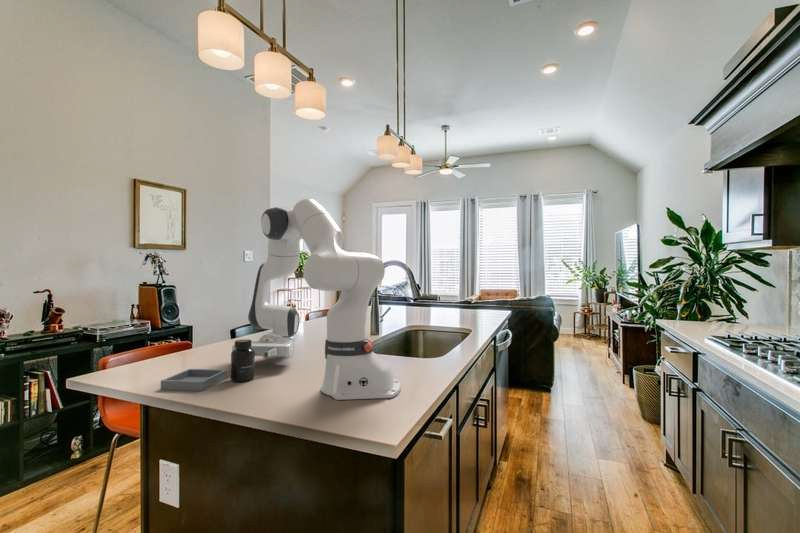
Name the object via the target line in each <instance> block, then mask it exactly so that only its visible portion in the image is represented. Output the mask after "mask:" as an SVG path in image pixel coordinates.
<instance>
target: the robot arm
mask: <svg viewBox="0 0 800 533" xmlns="http://www.w3.org/2000/svg"><path fill="white" fill-rule="evenodd" d="M260 225H261V230H262V233H263V234H264V236H265V237H266V238H268V244H267V245H268V246H267V258H266V261H265V262H264V263H262V264H260V266H259V268H258V269H257V270H258V271H257V274H256V279H255V284H254V290H253V295H252V300H251V304H250V309H249V311H248V316H247V318H248V322H249V324H250V325H251V326H252V327H253V329H257V330H261V329H262V330H270V331H271V332H269V333H266V334H264V335H262V336H261V337H260V338H259V339H258V341H251V344H252V346H251V348H252V349H253V350H254V351H255V357H262V358H265V359H267V360H268V359H269V360H270V359H275V358H279V357H290V356H293V355H294V354H295V343H296V341H297V333H298V331H299V330H298V329H299V327H300V315H299V313H298V310H297V308H295V307H294V306H289V305H279V304H273V303H269V302H268V301H267V297H268V292H269V287H270V283H271V282H272V281H274V280H276V279H278V280H279V279H281V278H285V277H288V276H290V275H292V274H293V273H295V272H296V270H297V269H298V268H299V265H300V258H301V256H300V255H301V254H300V253H301V247H300V246H301V245H300V242H301V240H303V241H304V243H305V245H306V247H307V248H308V250H309V252H310V255H308V257H307V259H306V260H305V262H304V265H303V271H302V272H303V279H304V281H305V282H306V284H307V285H308V286H309V287H310V289H312V290H319V291H324V292H340V296H339V298H338V300H337V302H335V304H334V305H333V304H332V306H330V308H329V309H328V311H327V313H326V339H325V342H324V358H325V368H324V375H323V381H322V385H321V387H320V391H321V392H322V393H323V394H324V395H327V396H330V397H332V398H333V399H334V400H336V401H337V400H339V401H342V400H364V399H365V400H367V399H371V400H372V399H390V398H391V399H392V398H394V397H396V396H397V395H398V394H399V393H400V392H401V388H402V387H401V382H400V381H399V380H398V379H396V378H394V375H393V371H392V368H391V365H390V363H389V362H387V361H385V359H383V357H382V358H381V357H380V356H379V355H377V354H376V353H375V352H374V343H373V342H374V341H373V339H369V338H367V313H368V307H369V304H370V301H371V298H372V295H373V293H374V292H375V290H376V288H377V287H379V285H380V284H381V283H382V281H383V280H384V277H385V273H386V272H385V270H386V269H385V264H384V262H383V260H382V259H381V258H380V257H379V256H377V255H375V254H372V253H368V252H362V251H358V252H357V251H346V250H343V249H342V247H343V245H344V239H345V237H344V233H343V230H342V229H341V228H340V226H339V225H338V224H337V223H336V221H335V219H333V217H332V216H331V214H330V213H329V212H328V210H326V208H324V206H322V204H320V203H319V202H318V201H316V200H315V199H313V198H303V199H301V200H299V201H297V202H296V203H295V205H294V206H282V207H271V208H267V209H266V210H265V211H264V212H263V213H262V215H261V220H260ZM234 345H235V343H234V344H232V347H231V352H232V351H233V350H234V349H235V347H234ZM399 391H400V392H399Z"/></svg>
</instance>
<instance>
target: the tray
mask: <svg viewBox="0 0 800 533" xmlns="http://www.w3.org/2000/svg"><path fill="white" fill-rule="evenodd" d="M227 378H228V369H219V368H218V369H214V368H211V369H210V368H209V369H208V368H188V369H185V370H183V371H180V372H178V373H176V374H173V375H171V376H169V377H166V378H164V379H162V380H160V390H164V391H190V392H191V391H195V392H196V391H197V392H203V391H206V390H207V389H210V388H211V387H213V386H215V385H217V384H219V383H220V382H222V381H224V380H226V379H227Z"/></svg>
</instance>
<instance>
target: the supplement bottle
mask: <svg viewBox="0 0 800 533" xmlns="http://www.w3.org/2000/svg"><path fill="white" fill-rule="evenodd" d="M251 342H252V339H247V338H246V339H238V340H235V341H234V344H235V345H234V344H233V345H234V347H235V349H234V350H233V351H232V350H231V353H230V381H231V382H233V383H246V382H250V381H252V380H254V378H255V362H256V361H255V357H256V356H255V351H254V350H253V349H252V348H251V346H252V344H251Z"/></svg>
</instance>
